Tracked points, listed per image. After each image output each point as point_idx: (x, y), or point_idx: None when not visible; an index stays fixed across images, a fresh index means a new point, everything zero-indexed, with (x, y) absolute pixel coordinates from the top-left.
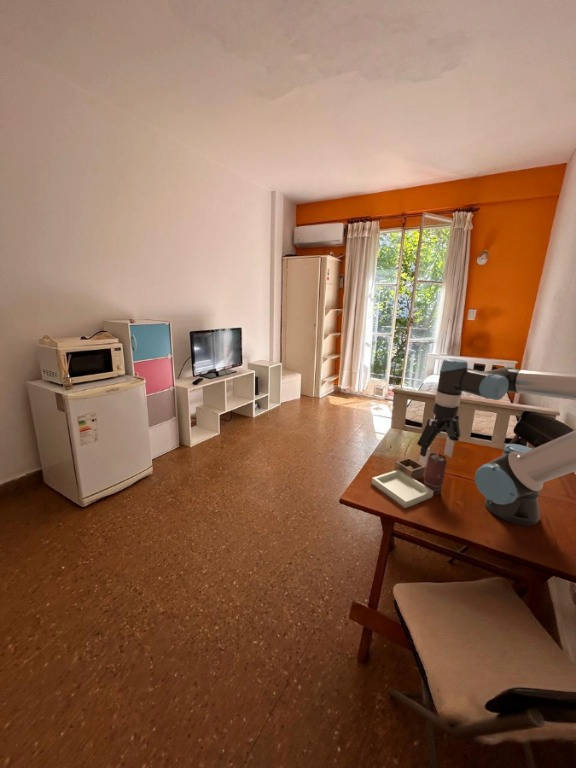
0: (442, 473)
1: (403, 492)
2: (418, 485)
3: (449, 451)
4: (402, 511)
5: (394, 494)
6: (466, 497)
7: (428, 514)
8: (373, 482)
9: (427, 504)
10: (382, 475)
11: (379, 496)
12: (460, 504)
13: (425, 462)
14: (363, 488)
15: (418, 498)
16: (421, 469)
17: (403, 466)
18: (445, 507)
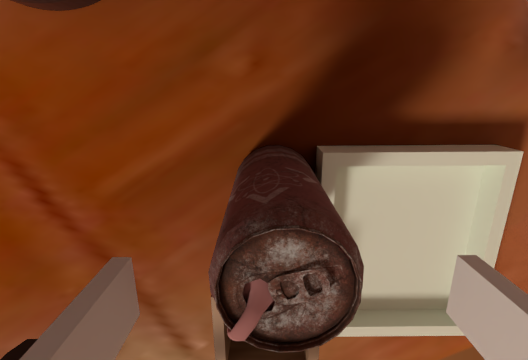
0: (286, 176)
1: (412, 219)
2: None
3: (108, 308)
4: (523, 136)
5: (502, 216)
6: (163, 70)
7: (448, 68)
8: None
9: (384, 120)
10: (423, 331)
11: (507, 245)
12: (243, 47)
13: (495, 276)
14: None
15: (429, 150)
16: None
17: None
18: (331, 66)
